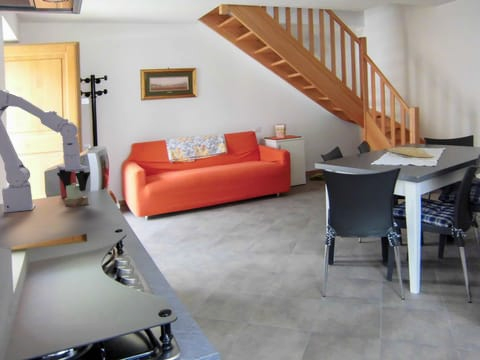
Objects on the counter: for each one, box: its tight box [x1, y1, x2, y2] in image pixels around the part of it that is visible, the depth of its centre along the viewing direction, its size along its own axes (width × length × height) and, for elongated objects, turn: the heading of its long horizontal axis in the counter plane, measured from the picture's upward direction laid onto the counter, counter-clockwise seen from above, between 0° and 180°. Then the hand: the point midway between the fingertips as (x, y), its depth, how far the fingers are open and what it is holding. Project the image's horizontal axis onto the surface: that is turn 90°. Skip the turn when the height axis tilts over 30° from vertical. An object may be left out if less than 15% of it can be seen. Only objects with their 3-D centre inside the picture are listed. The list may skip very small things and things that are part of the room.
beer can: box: [58, 171, 78, 199], centre depth 177 cm, size 7×7×12 cm
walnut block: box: [63, 195, 89, 208], centre depth 163 cm, size 6×6×3 cm
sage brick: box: [66, 183, 84, 199], centre depth 162 cm, size 4×4×6 cm
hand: (75, 190), depth 162 cm, fingers open, 7 cm apart
